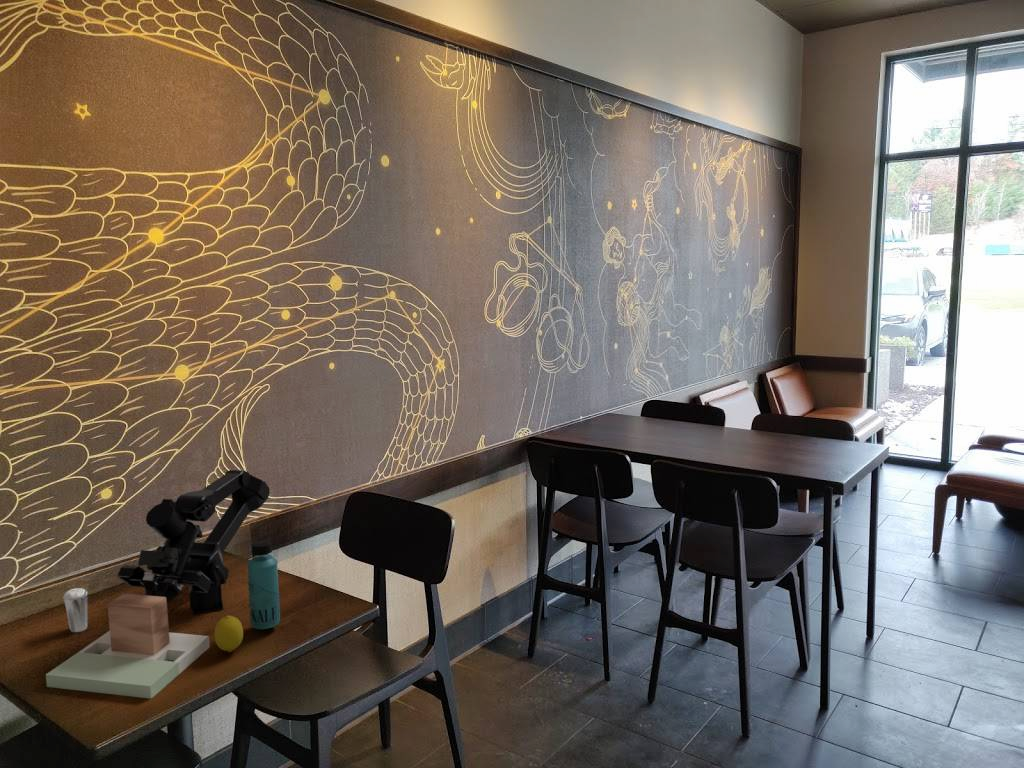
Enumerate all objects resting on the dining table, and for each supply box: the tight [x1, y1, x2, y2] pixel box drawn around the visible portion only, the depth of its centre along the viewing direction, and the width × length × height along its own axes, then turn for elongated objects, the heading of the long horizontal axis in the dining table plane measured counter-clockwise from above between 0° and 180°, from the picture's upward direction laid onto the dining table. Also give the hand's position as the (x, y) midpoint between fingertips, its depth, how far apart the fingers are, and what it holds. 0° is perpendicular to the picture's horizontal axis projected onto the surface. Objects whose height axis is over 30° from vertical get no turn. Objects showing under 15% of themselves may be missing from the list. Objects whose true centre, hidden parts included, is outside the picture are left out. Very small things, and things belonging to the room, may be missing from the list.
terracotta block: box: [106, 592, 170, 655], centre depth 152 cm, size 5×10×10 cm, turn 80°
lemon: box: [214, 614, 244, 653], centre depth 155 cm, size 6×6×8 cm
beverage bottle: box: [246, 540, 282, 630], centre depth 163 cm, size 6×7×20 cm
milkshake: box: [63, 586, 89, 633], centre depth 164 cm, size 5×5×10 cm
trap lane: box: [45, 630, 211, 700], centre depth 150 cm, size 19×22×2 cm
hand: (148, 618), depth 154 cm, fingers closed
